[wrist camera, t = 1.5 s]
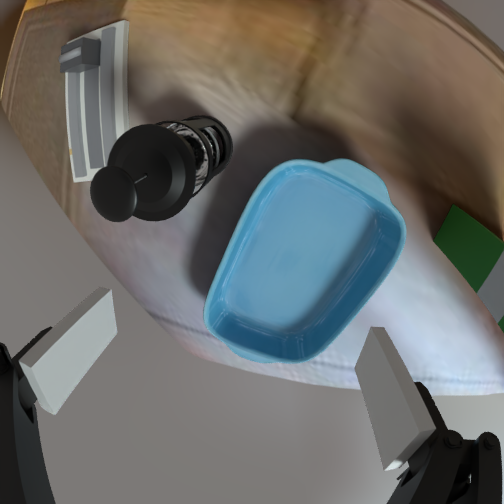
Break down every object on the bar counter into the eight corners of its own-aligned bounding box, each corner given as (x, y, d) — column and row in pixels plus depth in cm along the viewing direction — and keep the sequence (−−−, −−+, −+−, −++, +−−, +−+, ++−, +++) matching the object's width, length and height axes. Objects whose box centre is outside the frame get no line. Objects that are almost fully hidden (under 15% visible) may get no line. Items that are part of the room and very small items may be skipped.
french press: (249, 137, 36) (204, 172, 16) (217, 192, 40) (152, 281, 20) (177, 100, 34) (66, 103, 14) (151, 155, 38) (42, 210, 18)
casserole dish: (282, 122, 35) (282, 124, 28) (412, 195, 37) (432, 211, 31) (198, 312, 52) (188, 338, 46) (301, 350, 55) (301, 377, 48)
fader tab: (81, 49, 28) (58, 46, 23) (102, 41, 28) (79, 36, 23) (80, 72, 30) (57, 72, 25) (101, 65, 30) (78, 63, 25)
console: (72, 43, 29) (63, 41, 26) (129, 21, 28) (121, 18, 25) (79, 180, 41) (70, 184, 39) (133, 175, 40) (125, 179, 38)
